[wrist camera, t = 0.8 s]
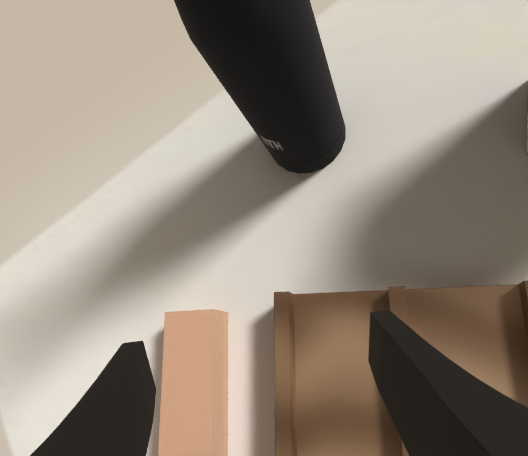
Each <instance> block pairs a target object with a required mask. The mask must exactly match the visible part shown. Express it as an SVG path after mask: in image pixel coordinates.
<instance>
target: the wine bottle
mask: <svg viewBox="0 0 528 456" xmlns="http://www.w3.org/2000/svg"><path fill="white" fill-rule="evenodd" d="M174 1H175V4H176V6H177V9H178V11H179V14H180V17H181V19H182V21H183V24H184V26H185V28H186V30H187V33H188V34H189V37H190V39H191V41H192V42H193V44H194V45H195V46H196V47H197V49H198V51H199V52H200V54H201V55H202V56H203V58H204V59H205V61H206V62H207V64H208V65H209V66H210V68H211V69H212V71H213V72H214V74H215V75H216V76H217V78H218V79H219V81H220V82H221V83H222V85H223V86H224V88H225V89H226V91H227V92H228V94H229V95H230V96H231V98H232V99H233V101H234V102H235V104H236V105H237V106H238V108H239V109H240V111H241V112H242V114H243V115H244V116H245V118H246V119H247V121H248V122H249V124H250V125H251V126H252V128H253V129H254V131H255V132H256V134H257V135H258V137H259V138H260V139H261V141H262V142H263V144H264V145H265V146H266V148H267V149H268V151H269V152H270V154H271V155H272V157H273V158H274V159H275V161H276V162H277V163H278V165H280V166H282V167H283V168H285V169H286V170H288V171H292V172H296V173H309V172H314V171H316V170H319V169H321V168H324V167H325V166H326V165H328V164H329V163H330V162H332V161H333V160H334V159H335V158H336V156H337V155H338V154H339V152H340V151H341V149H342V147H343V144H344V141H345V124H344V121H343V117H342V113H341V110H340V106H339V103H338V99H337V96H336V92H335V89H334V85H333V81H332V78H331V74H330V71H329V67H328V64H327V60H326V57H325V53H324V49H323V46H322V42H321V39H320V35H319V32H318V28H317V24H316V21H315V17H314V14H313V11H312V7H311V3H310V0H174Z"/></svg>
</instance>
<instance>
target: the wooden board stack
mask: <svg viewBox="0 0 528 456" xmlns="http://www.w3.org/2000/svg"><path fill="white" fill-rule="evenodd" d="M383 310H390V311H391V312H392V313H394V314H395V315H396V316H397V317H398V318H399V319H401V320H402V321H403V322H404V323H405V324H407V325H408V326H409V327H410V328H411V329H412V330H414V331H415V332H416V333H417V334H418V335H420V336H421V337H422V338H423V339H424V340H426V341H427V342H428V343H429V344H431V345H432V346H433V347H435V348H436V349H437V350H438V351H440V352H441V353H442V354H443V355H445V356H446V357H447V358H449V359H450V360H452V361H453V362H454V363H456V364H457V365H459V366H460V367H461V368H463V369H464V370H466V371H467V372H469V373H470V374H472V375H473V376H475V377H476V378H478V379H479V380H481V381H482V382H484V383H486V384H487V385H489V386H491V387H492V388H494V389H495V390H497V391H499V392H500V393H502V394H504V395H506V396H507V397H509V398H511V399H513V400H514V401H516V402H518V403H520V404H522V405H524V406H526V407H528V281H523V282H522V283H520V284H518V285H495V286H473V287H450V288H427V289H405V286H399V287H388V290H381V291H359V292H336V293H313V294H292V293H290V292H274V357H275V456H409V454H408V452H407V450H406V448H405V446H404V443H403V441H402V439H401V437H400V435H399V433H398V431H397V429H396V427H395V425H394V423H393V421H392V418H391V416H390V414H389V412H388V410H387V408H386V406H385V404H384V402H383V399H382V397H381V395H380V393H379V391H378V388H377V385H376V382H375V380H374V377H373V374H372V371H371V367H370V364H369V361H368V354H369V331H370V312H375V311H383Z"/></svg>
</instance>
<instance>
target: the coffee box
mask: <svg viewBox="0 0 528 456" xmlns="http://www.w3.org/2000/svg"><path fill="white" fill-rule="evenodd" d="M527 155H528V115H527Z"/></svg>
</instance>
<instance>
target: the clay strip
mask: <svg viewBox="0 0 528 456" xmlns="http://www.w3.org/2000/svg"><path fill="white" fill-rule="evenodd" d="M158 456H228V312H224V311H219V310H214V309H211V310H194V311H177V312H165V322H164V343H163V364H162V385H161V405H160V426H159V447H158Z"/></svg>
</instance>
